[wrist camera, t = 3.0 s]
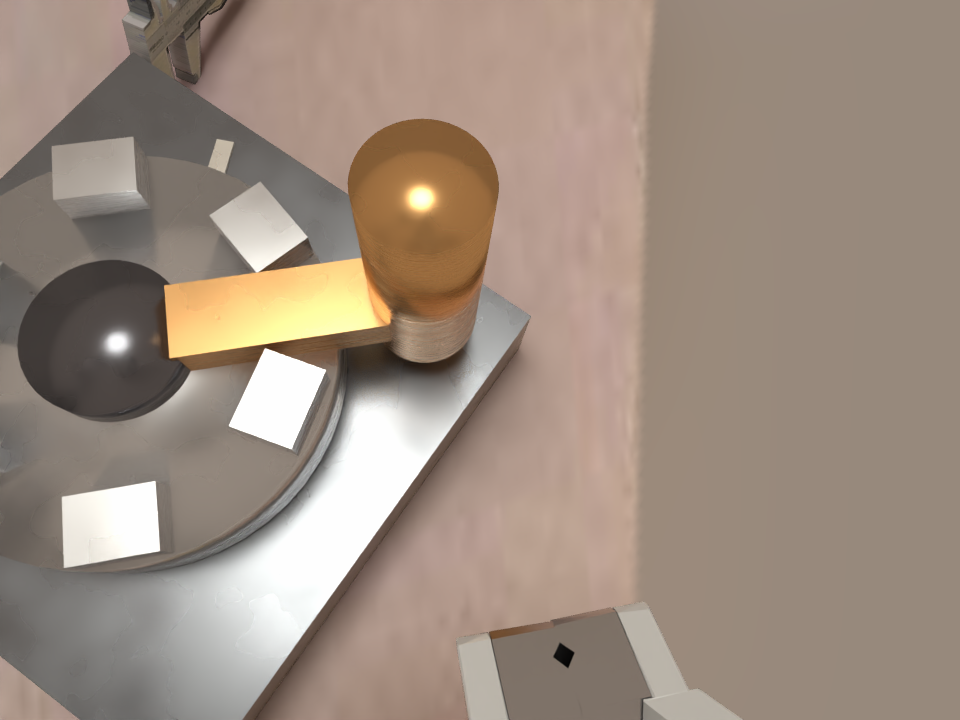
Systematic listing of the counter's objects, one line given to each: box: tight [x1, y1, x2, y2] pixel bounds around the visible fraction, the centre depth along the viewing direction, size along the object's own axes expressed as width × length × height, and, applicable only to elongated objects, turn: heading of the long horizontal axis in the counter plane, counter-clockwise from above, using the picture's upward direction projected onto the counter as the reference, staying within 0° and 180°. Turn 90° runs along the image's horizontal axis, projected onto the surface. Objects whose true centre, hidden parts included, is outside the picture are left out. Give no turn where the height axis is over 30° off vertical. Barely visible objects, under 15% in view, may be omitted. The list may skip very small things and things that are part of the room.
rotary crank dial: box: [0, 119, 499, 573], centre depth 22 cm, size 19×14×11 cm
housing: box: [0, 52, 531, 720], centre depth 29 cm, size 20×20×4 cm
